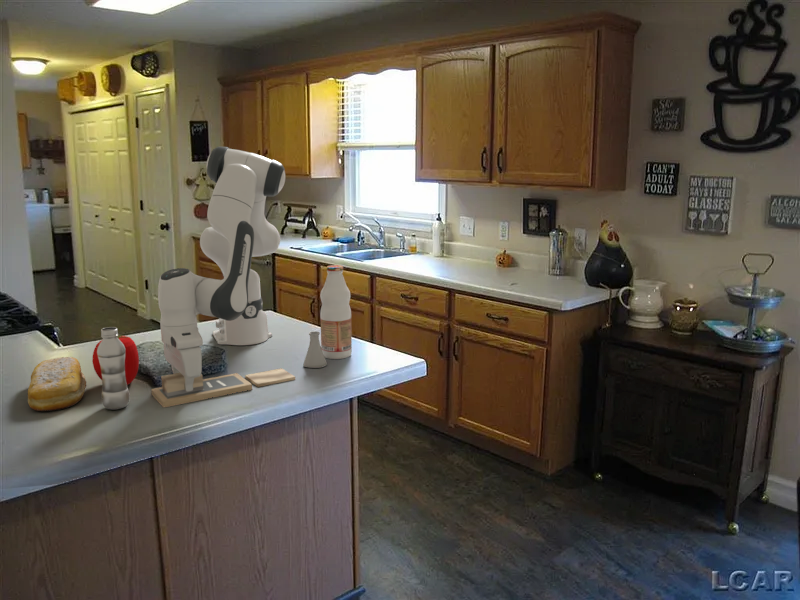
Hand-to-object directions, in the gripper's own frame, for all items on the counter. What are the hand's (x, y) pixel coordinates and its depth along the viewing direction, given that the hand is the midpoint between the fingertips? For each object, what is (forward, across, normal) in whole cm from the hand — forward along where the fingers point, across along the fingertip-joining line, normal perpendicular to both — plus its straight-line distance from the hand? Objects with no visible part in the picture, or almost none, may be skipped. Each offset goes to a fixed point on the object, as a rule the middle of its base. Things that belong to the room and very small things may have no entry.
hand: (183, 385), depth 169 cm
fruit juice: (+3, -9, +50) cm, 51 cm away
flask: (+3, -4, +40) cm, 40 cm away
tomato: (+3, -18, -12) cm, 22 cm away
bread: (+3, -19, -27) cm, 33 cm away
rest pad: (+3, 0, +24) cm, 24 cm away
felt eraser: (+1, 0, 0) cm, 1 cm away
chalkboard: (+3, 0, +5) cm, 6 cm away
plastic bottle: (+3, -1, -16) cm, 16 cm away
